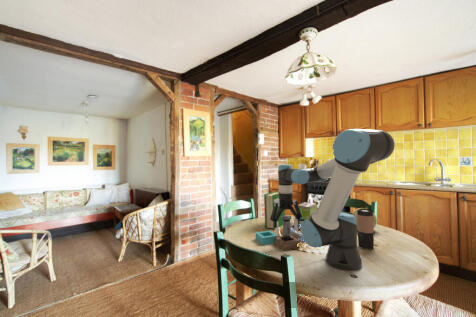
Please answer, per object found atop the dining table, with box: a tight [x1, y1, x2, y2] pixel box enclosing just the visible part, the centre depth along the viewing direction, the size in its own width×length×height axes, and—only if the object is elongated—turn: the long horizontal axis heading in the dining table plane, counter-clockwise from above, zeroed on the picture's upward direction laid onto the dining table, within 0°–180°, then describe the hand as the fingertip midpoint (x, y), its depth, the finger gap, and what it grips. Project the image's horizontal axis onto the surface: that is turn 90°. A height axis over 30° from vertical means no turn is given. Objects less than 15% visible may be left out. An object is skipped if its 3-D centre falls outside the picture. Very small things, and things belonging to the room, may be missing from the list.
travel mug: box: [357, 208, 375, 250], centre depth 121 cm, size 8×8×20 cm
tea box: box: [298, 201, 318, 224], centre depth 166 cm, size 15×10×15 cm, turn 143°
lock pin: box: [282, 214, 292, 241], centre depth 123 cm, size 5×5×16 cm
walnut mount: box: [274, 235, 301, 251], centre depth 123 cm, size 10×10×5 cm
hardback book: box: [263, 190, 286, 231], centre depth 163 cm, size 18×7×24 cm, turn 144°
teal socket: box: [255, 230, 279, 246], centre depth 131 cm, size 10×10×5 cm
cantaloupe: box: [351, 207, 378, 229], centre depth 148 cm, size 15×15×15 cm
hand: (286, 231), depth 123 cm, fingers open, 11 cm apart
